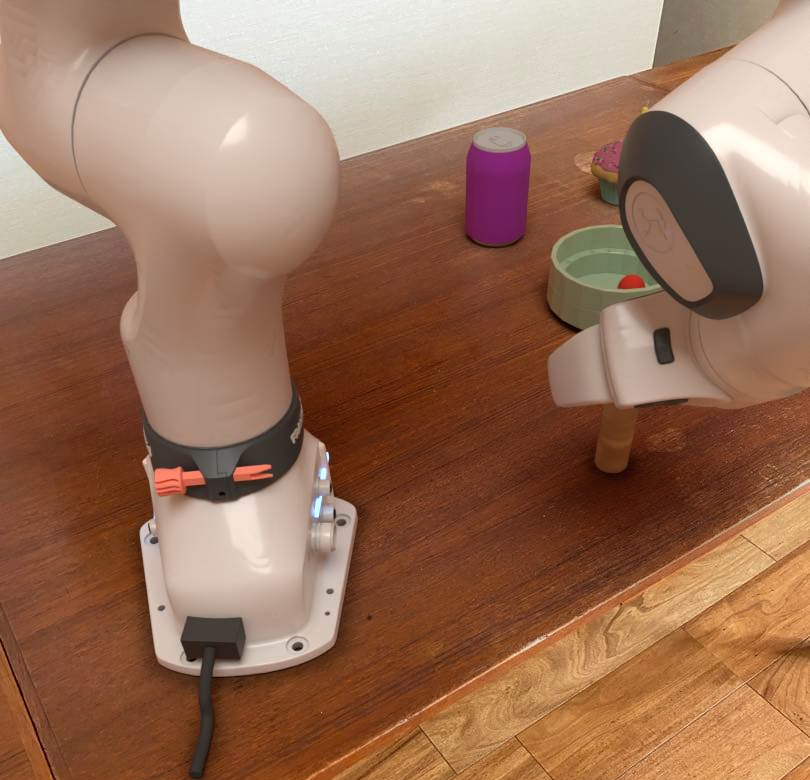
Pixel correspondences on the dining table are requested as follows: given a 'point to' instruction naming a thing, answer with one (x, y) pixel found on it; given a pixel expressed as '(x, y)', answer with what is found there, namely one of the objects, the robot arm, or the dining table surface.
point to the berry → (631, 282)
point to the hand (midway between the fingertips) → (649, 373)
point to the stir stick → (615, 438)
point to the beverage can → (497, 186)
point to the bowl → (593, 274)
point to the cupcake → (609, 168)
